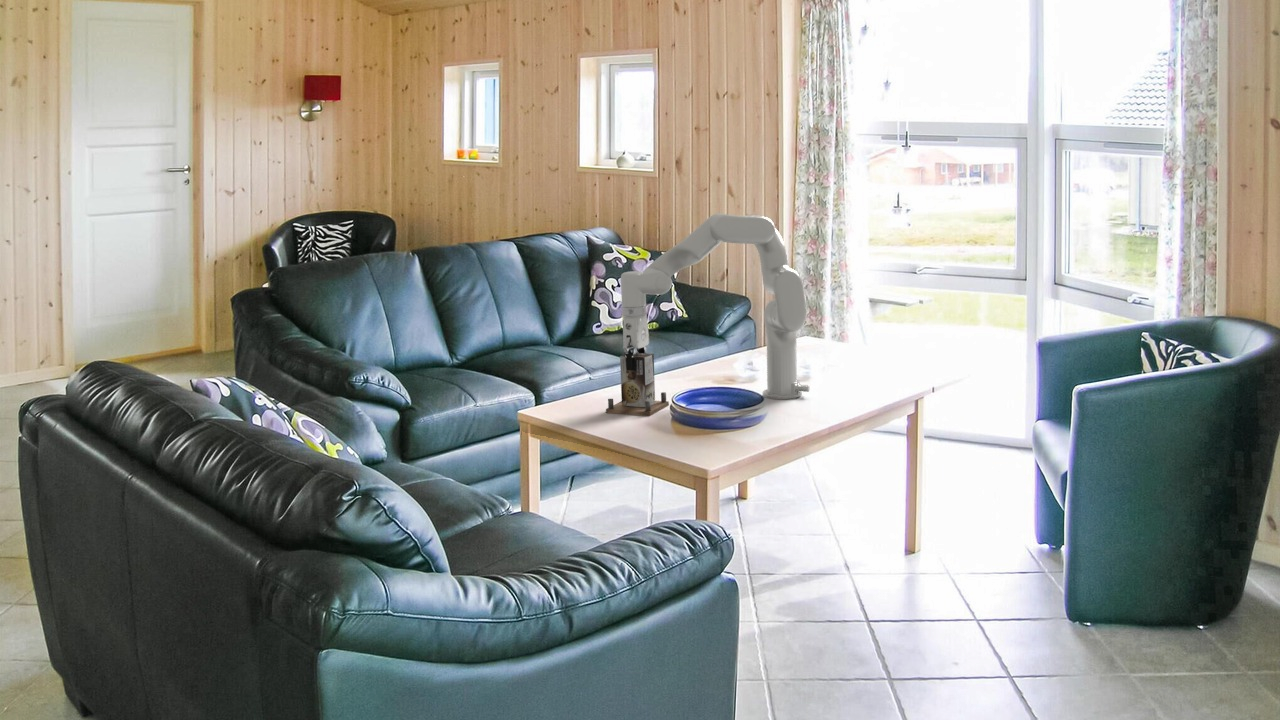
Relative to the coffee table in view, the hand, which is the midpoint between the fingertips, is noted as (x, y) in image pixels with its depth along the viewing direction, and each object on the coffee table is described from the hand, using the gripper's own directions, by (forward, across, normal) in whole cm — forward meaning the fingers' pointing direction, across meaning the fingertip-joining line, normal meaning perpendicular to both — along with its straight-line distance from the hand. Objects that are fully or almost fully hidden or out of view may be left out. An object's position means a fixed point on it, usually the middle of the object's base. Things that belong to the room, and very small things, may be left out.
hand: (636, 367), depth 377 cm
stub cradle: (+13, 0, 0) cm, 13 cm away
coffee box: (+12, 0, 0) cm, 12 cm away
